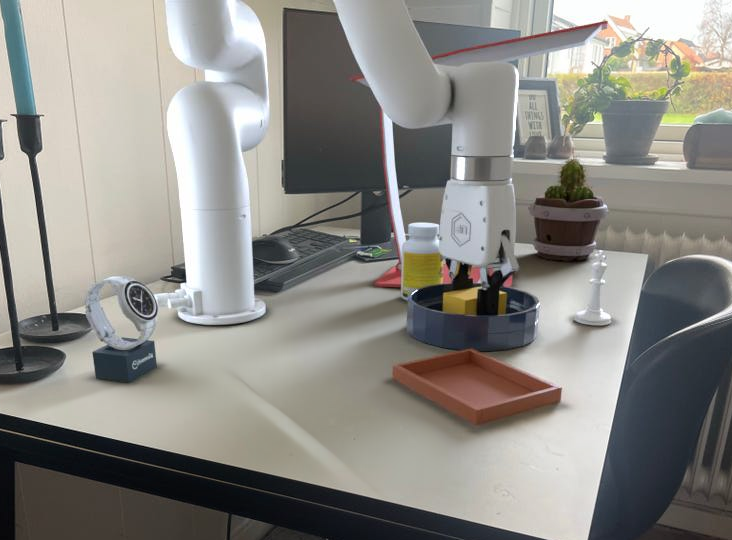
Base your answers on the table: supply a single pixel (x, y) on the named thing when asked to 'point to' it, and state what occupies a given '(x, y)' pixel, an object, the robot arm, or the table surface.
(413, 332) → the bowl
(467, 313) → the sponge
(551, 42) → the desk lamp
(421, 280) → the pill bottle
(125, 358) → the watch
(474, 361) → the sponge dish
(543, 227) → the flowerpot
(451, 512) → the table surface
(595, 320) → the chess piece
